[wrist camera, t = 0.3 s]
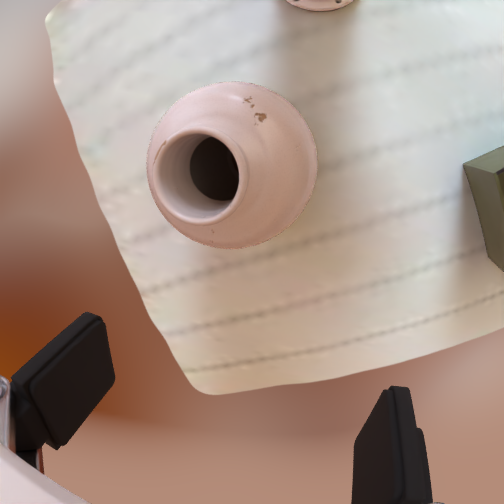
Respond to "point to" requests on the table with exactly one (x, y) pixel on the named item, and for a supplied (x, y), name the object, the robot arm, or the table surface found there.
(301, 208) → the vase
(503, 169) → the flap
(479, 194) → the olive green hollow box
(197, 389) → the table surface
